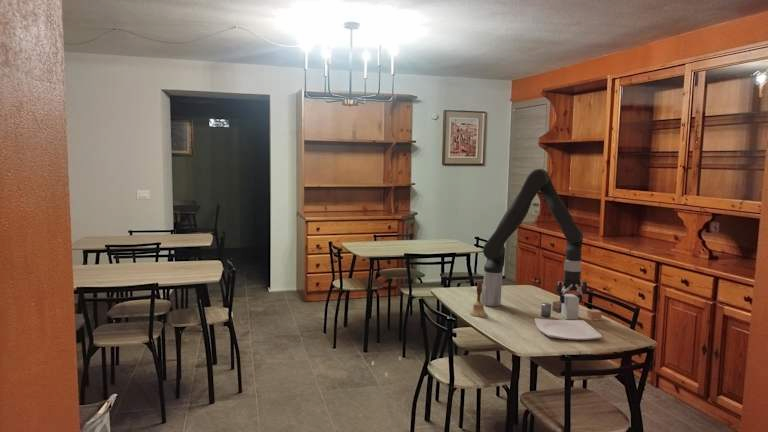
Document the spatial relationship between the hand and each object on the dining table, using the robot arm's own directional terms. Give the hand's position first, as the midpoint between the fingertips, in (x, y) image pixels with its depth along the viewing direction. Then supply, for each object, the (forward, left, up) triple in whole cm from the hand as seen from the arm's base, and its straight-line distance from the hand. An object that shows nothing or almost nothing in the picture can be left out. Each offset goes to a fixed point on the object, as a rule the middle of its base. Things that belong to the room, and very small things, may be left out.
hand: (570, 302), depth 246 cm
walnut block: (0, +10, -7) cm, 13 cm away
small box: (0, 0, -7) cm, 7 cm away
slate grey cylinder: (-11, +2, -7) cm, 13 cm away
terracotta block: (+11, -3, -7) cm, 13 cm away
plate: (-13, -20, -8) cm, 25 cm away
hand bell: (-43, +7, -7) cm, 44 cm away
